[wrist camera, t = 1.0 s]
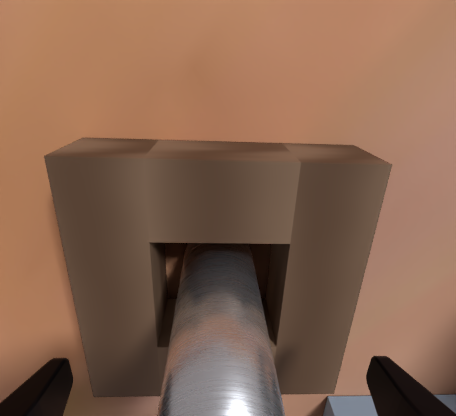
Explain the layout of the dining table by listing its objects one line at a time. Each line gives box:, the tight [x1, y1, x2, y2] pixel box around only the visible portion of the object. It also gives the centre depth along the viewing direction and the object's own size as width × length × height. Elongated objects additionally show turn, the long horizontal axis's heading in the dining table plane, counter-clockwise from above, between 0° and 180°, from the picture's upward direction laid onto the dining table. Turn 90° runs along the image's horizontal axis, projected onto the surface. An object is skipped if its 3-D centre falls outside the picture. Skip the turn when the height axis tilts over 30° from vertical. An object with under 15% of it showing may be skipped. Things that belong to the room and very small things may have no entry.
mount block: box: [44, 138, 392, 397], centre depth 13 cm, size 11×11×3 cm
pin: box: [157, 243, 285, 416], centre depth 10 cm, size 3×3×10 cm
